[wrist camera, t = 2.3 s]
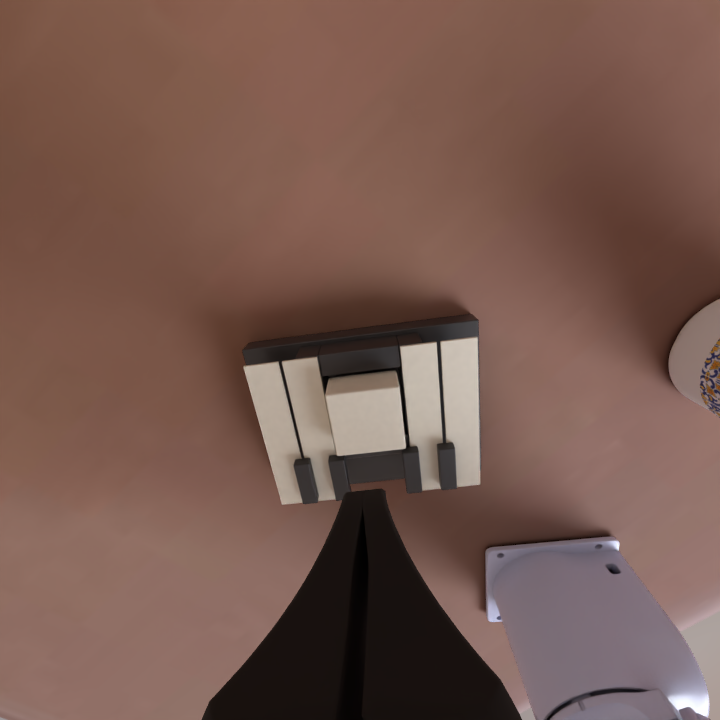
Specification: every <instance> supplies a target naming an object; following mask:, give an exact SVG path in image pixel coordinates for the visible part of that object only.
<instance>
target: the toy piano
mask: <svg viewBox="0 0 720 720" xmlns="http://www.w3.org/2000/svg"><path fill="white" fill-rule="evenodd" d="M469 337H478V388H479V444H480V470H481V442H480V382H479V322H478V319H477V318H476V317H475V316H474V315H473V314H466V315H458V316H451V317H443V318H435V319H428V320H420V321H412V322H404V323H397V324H389V325H381V326H374V327H366V328H358V329H351V330H343V331H335V332H327V333H320V334H312V335H304V336H297V337H289V338H281V339H274V340H266V341H258V342H250V343H248V344H247V345H246V347H245V348H244V349H243V350H242V351H243V355H244V359H245V362H246V365H254V364H262V363H270V362H279V366H280V371H281V375H282V379H283V383H284V387H285V391H286V396H287V400H288V404H289V408H290V412H291V416H292V420H293V425H294V429H295V433H296V437H297V441H298V445H299V450H300V454H301V458H304V454H303V450H302V446H301V441H300V437H299V433H298V429H297V424H296V420H295V416H294V412H293V407H292V403H291V399H290V395H289V391H288V386H287V382H286V378H285V374H284V369H283V365H282V361H286V360H294V359H302V358H310V357H317V359H318V364H319V369H320V375H321V380H322V385H323V390H324V395H325V394H326V389H327V384H328V380H329V378H333V377H341V376H349V375H357V374H365V373H374V372H382V371H390V370H396V372H397V377H398V382H399V387H400V396H401V405H402V414H403V424H404V433H405V442H406V447H410V439H409V430H408V420H407V410H406V401H405V391H404V381H403V372H402V362H401V352H400V346H405V345H413V344H421V343H429V342H436V343H437V357H438V373H439V389H440V405H441V421H442V437H443V443H446V432H445V415H444V398H443V381H442V363H441V346H440V341H445V340H453V339H461V338H469ZM325 400H326V399H325ZM326 405H327V404H326ZM327 410H328V409H327ZM328 415H329V414H328ZM329 420H330V419H329ZM330 425H331V424H330ZM331 431H332V430H331ZM332 436H333V435H332ZM333 441H334V440H333ZM334 446H335V445H334ZM335 451H336V450H335ZM345 460H346V465H347V471H348V476H349V481H350V484H356V483H366V482H375V481H385V480H395V479H404V478H405V474H404V466H403V457H402V449H399V450H389V451H380V452H371V453H362V454H353V455H345Z"/></svg>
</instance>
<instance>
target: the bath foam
mask: <svg viewBox="0 0 720 720" xmlns="http://www.w3.org/2000/svg"><path fill="white" fill-rule="evenodd" d="M668 366H669V374H670V377H671V380H672V382H673V384H674V386H675V387H676V388H677V390H678V391H679V392H680V393H681V394H683V395H684V396H685V397H687V398H688V399H690V400H691V401H693V402H695V403H697V404H698V405H700V406H702V407H704V408H705V409H707V410H709V411H711V412H712V413H714V414H715V415H717V416H718V417H720V299H718V300H716V301H714V302H712V303H711V304H709V305H707V306H706V307H704V308H703V309H702V310H700V311H699V312H698V313H696V314H695V315H694V316H693V317H692V318H691V319H690V320H689V321H688V322H687V323H686V324H685V326H684V327H683V328H682V330H681V331H680V333H679V335H678V336H677V338H676V340H675V342H674V344H673V346H672V349H671V352H670V355H669V363H668Z"/></svg>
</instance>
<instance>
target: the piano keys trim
mask: <svg viewBox="0 0 720 720" xmlns="http://www.w3.org/2000/svg"><path fill="white" fill-rule="evenodd" d="M440 346H441V363H442V381H443V398H444V415H445V432H446V443H443V437H442V421H441V405H440V389H439V373H438V357H437V343H436V342H429V343H421V344H413V345H405V346H400V352H401V362H402V372H403V381H404V391H405V401H406V410H407V420H408V430H409V439H410V447H406V448H405V449H402V457H403V466H404V474H405V483H406V491H407V493H408V494H409V493H419V492H422V491H423V490H432V489H441V490H449V489H457V487H462V486H472V485H480V444H479V388H478V337H469V338H461V339H453V340H445V341H440ZM282 365H283V369H284V374H285V378H286V382H287V386H288V391H289V395H290V399H291V403H292V407H293V412H294V416H295V420H296V424H297V429H298V433H299V437H300V441H301V446H302V450H303V454H304V458H301V454H300V450H299V445H298V441H297V437H296V433H295V429H294V425H293V420H292V416H291V412H290V408H289V404H288V400H287V396H286V391H285V387H284V383H283V379H282V375H281V371H280V366H279V362H270V363H262V364H254V365H246V366H244V371H245V375H246V378H247V382H248V385H249V389H250V392H251V396H252V399H253V403H254V407H255V410H256V414H257V417H258V421H259V424H260V428H261V432H262V435H263V439H264V442H265V446H266V449H267V453H268V456H269V460H270V464H271V467H272V471H273V474H274V478H275V481H276V485H277V488H278V492H279V496H280V499H281V503H282V505H284V504H294V503H303V504H310V503H317V502H318V501H324V500H333V499H336V501H339V500H343V496H344V494H345V493H346V492H351V487H350V481H349V476H348V471H347V465H346V460H345V455H343V456H337V455H336V451H335V446H334V441H333V436H332V431H331V425H330V420H329V415H328V410H327V405H326V400H325V395H324V390H323V385H322V380H321V375H320V369H319V364H318V359H317V357H310V358H302V359H294V360H286V361H282Z"/></svg>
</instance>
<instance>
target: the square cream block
mask: <svg viewBox="0 0 720 720" xmlns="http://www.w3.org/2000/svg"><path fill="white" fill-rule="evenodd" d="M325 399H326V404H327V409H328V414H329V419H330V424H331V430H332V435H333V440H334V445H335V450H336V455H337V456H343V455H353V454H362V453H371V452H380V451H389V450H399V449H405V448H406V442H405V433H404V424H403V414H402V405H401V396H400V387H399V382H398V377H397V372H396V370H390V371H382V372H374V373H365V374H357V375H349V376H341V377H333V378H329V380H328V384H327V389H326V394H325Z"/></svg>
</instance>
